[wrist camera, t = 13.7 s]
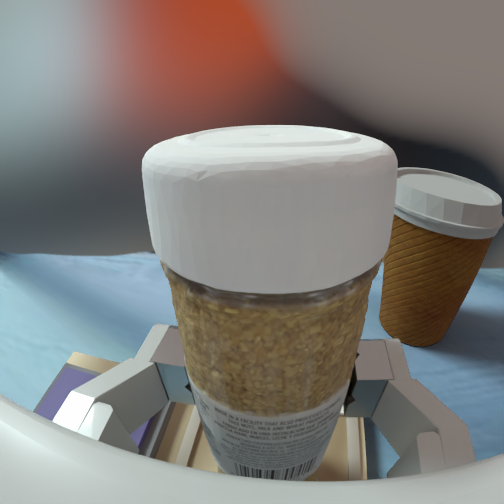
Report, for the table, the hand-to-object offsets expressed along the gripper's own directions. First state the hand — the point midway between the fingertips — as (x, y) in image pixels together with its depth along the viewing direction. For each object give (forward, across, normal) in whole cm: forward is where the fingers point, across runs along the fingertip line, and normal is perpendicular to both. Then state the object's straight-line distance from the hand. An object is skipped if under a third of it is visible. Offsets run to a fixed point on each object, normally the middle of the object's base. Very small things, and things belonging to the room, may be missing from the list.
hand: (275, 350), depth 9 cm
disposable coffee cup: (+13, -11, +10) cm, 20 cm away
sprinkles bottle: (-1, 0, +7) cm, 7 cm away
